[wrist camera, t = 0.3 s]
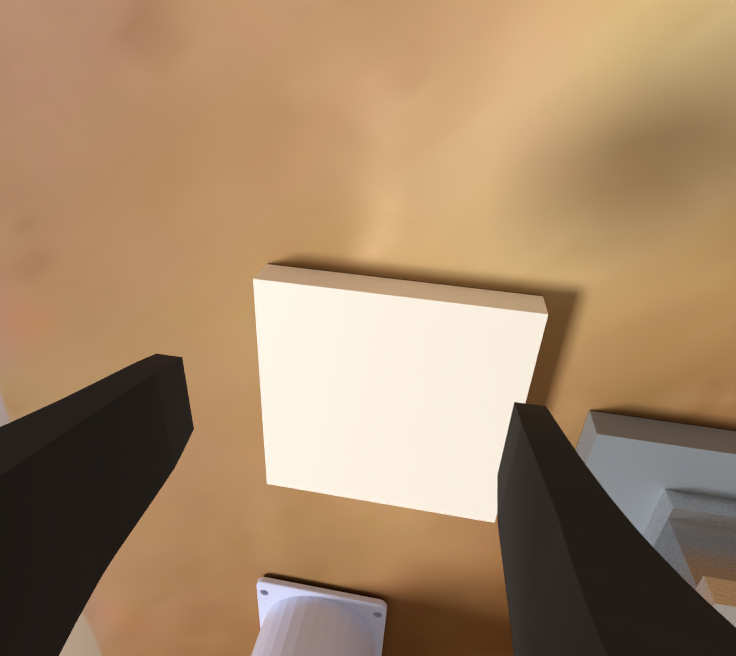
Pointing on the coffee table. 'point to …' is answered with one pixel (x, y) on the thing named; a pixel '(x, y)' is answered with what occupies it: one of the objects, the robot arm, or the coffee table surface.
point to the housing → (699, 544)
